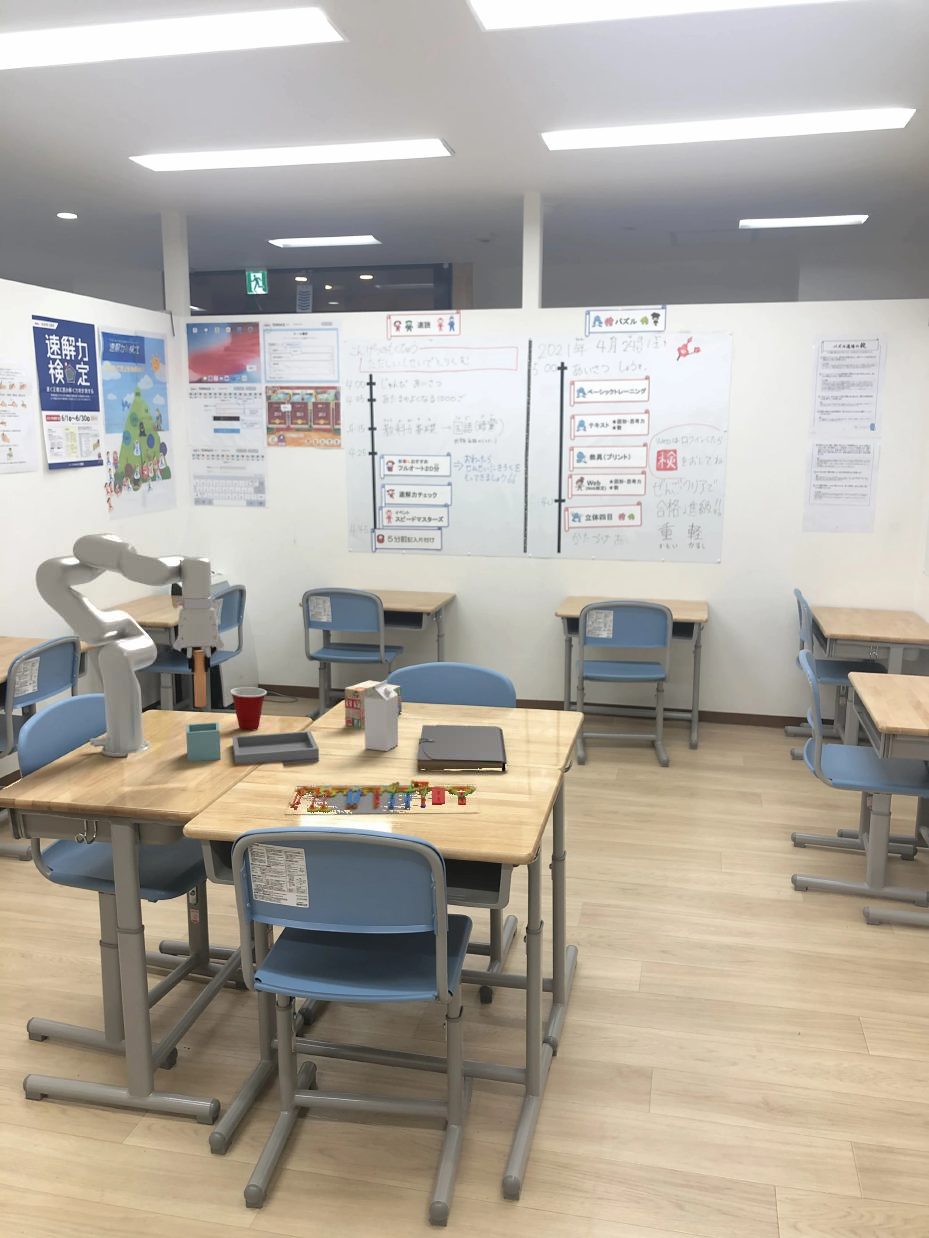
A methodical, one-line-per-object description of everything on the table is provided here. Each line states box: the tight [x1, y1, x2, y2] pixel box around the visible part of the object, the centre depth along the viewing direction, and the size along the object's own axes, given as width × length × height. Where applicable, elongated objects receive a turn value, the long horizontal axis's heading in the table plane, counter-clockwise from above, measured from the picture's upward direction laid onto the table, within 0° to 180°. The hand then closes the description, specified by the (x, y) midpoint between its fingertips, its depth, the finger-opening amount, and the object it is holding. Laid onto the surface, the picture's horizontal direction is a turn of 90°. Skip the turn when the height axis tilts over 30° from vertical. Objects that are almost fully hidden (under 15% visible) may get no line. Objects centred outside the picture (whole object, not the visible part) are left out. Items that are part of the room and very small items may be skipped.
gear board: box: [290, 780, 477, 815], centre depth 222 cm, size 45×2×19 cm
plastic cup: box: [230, 686, 267, 731], centre depth 281 cm, size 11×11×12 cm
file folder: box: [416, 724, 508, 771], centre depth 259 cm, size 33×4×24 cm
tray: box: [231, 730, 320, 766], centre depth 256 cm, size 22×18×4 cm
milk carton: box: [364, 679, 399, 752], centre depth 262 cm, size 7×7×19 cm
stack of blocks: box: [344, 680, 403, 729], centre depth 292 cm, size 21×6×12 cm, turn 148°
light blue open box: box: [185, 721, 222, 763], centre depth 251 cm, size 9×9×9 cm
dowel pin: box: [192, 649, 207, 708], centre depth 248 cm, size 3×3×15 cm
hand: (199, 670), depth 248 cm, fingers closed on dowel pin, 3 cm apart
